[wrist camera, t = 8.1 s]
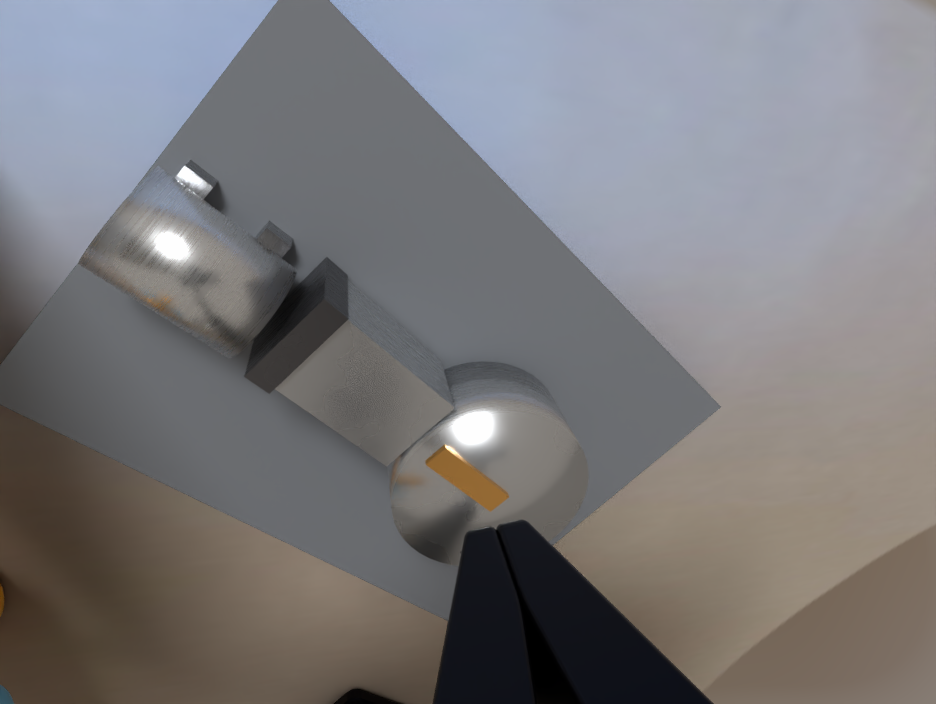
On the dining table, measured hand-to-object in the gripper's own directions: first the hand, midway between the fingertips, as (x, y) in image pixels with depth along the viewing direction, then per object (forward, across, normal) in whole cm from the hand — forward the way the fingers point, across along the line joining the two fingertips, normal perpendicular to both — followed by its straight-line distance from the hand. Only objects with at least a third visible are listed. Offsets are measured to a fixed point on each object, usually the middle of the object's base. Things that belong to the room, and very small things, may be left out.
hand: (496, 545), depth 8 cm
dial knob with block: (+11, 0, +5) cm, 12 cm away
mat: (+12, +1, +5) cm, 13 cm away
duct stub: (+11, +6, -1) cm, 13 cm away
